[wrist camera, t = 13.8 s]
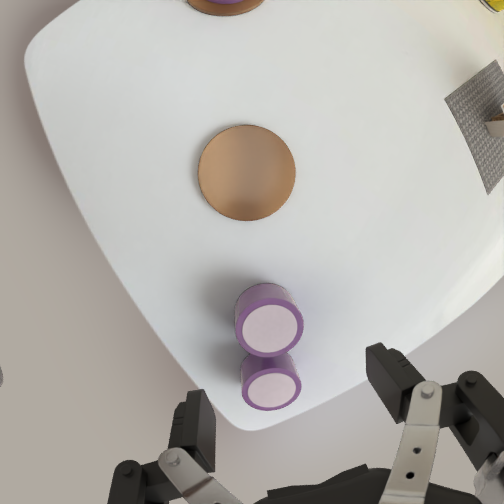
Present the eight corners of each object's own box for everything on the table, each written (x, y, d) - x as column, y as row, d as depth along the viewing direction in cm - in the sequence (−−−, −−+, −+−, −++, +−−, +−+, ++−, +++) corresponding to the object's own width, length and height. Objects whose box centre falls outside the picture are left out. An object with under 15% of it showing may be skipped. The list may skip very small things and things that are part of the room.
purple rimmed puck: (247, 394, 25) (249, 416, 22) (234, 354, 24) (234, 376, 21) (297, 382, 25) (304, 403, 22) (290, 341, 24) (297, 361, 21)
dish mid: (242, 343, 24) (244, 364, 21) (227, 291, 23) (227, 307, 20) (299, 329, 24) (308, 348, 21) (289, 276, 23) (298, 290, 20)
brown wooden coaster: (211, 229, 21) (210, 231, 21) (189, 138, 19) (188, 137, 19) (302, 208, 21) (304, 209, 21) (282, 118, 20) (283, 117, 19)
